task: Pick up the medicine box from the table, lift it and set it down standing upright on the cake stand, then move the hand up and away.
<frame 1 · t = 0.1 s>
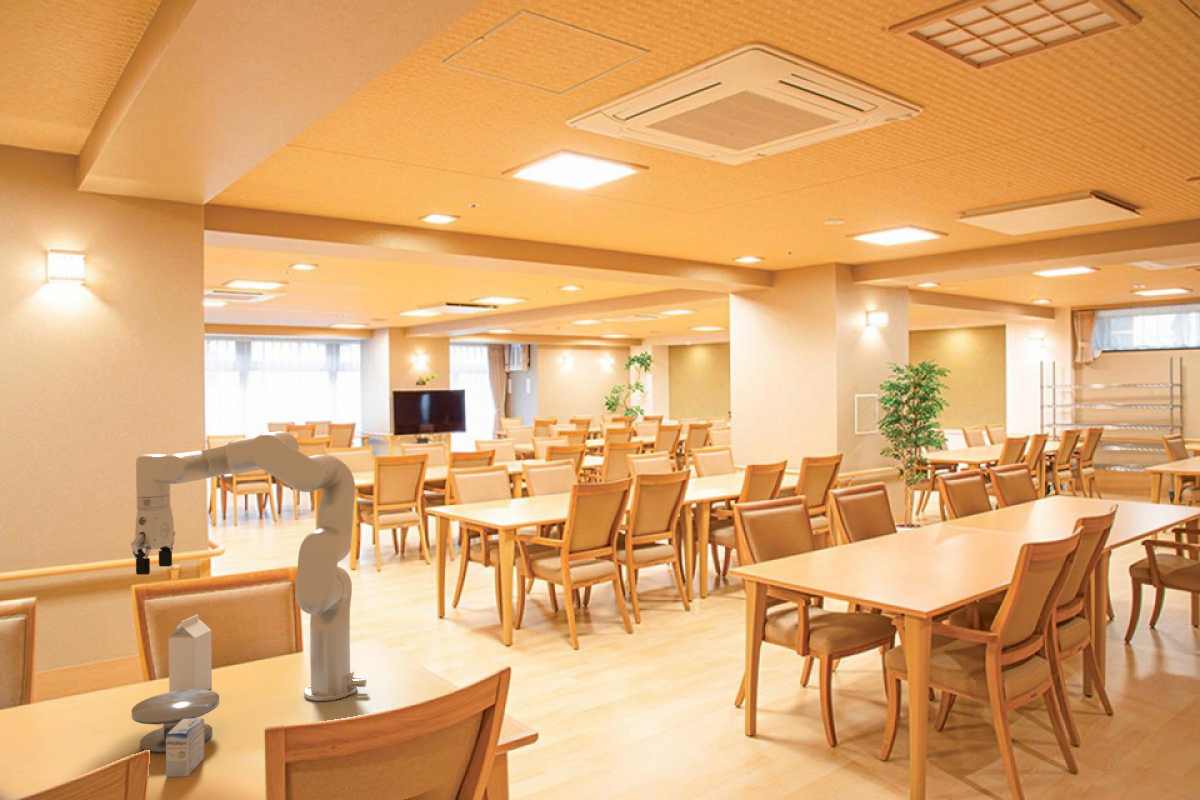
hand: (154, 570, 207), 31 cm above the table, tool pointing down, fingers open, 9 cm apart
cake stand: (176, 739, 178), on the table
medicine box: (185, 769, 164), on the table
milk carton: (190, 693, 207), on the table
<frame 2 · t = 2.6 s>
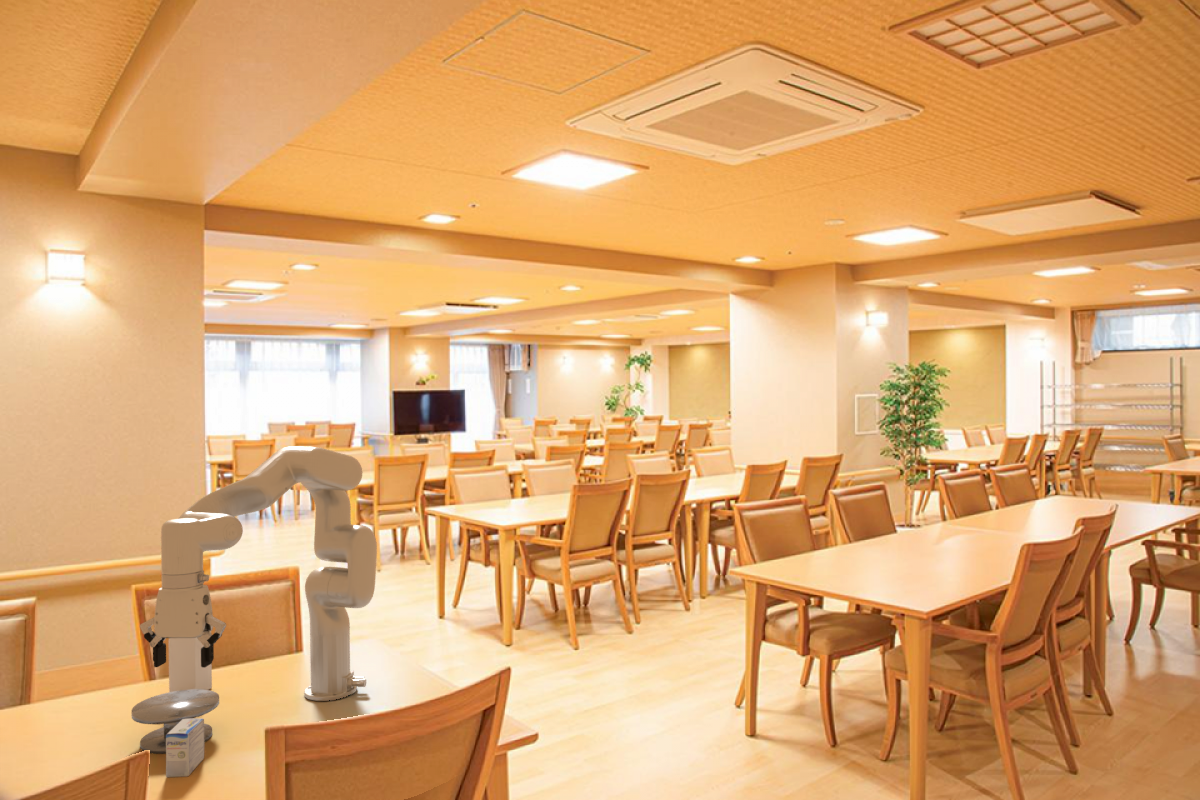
hand: (183, 665, 164), 21 cm above the table, tool pointing down, fingers open, 9 cm apart
nothing on the table moved.
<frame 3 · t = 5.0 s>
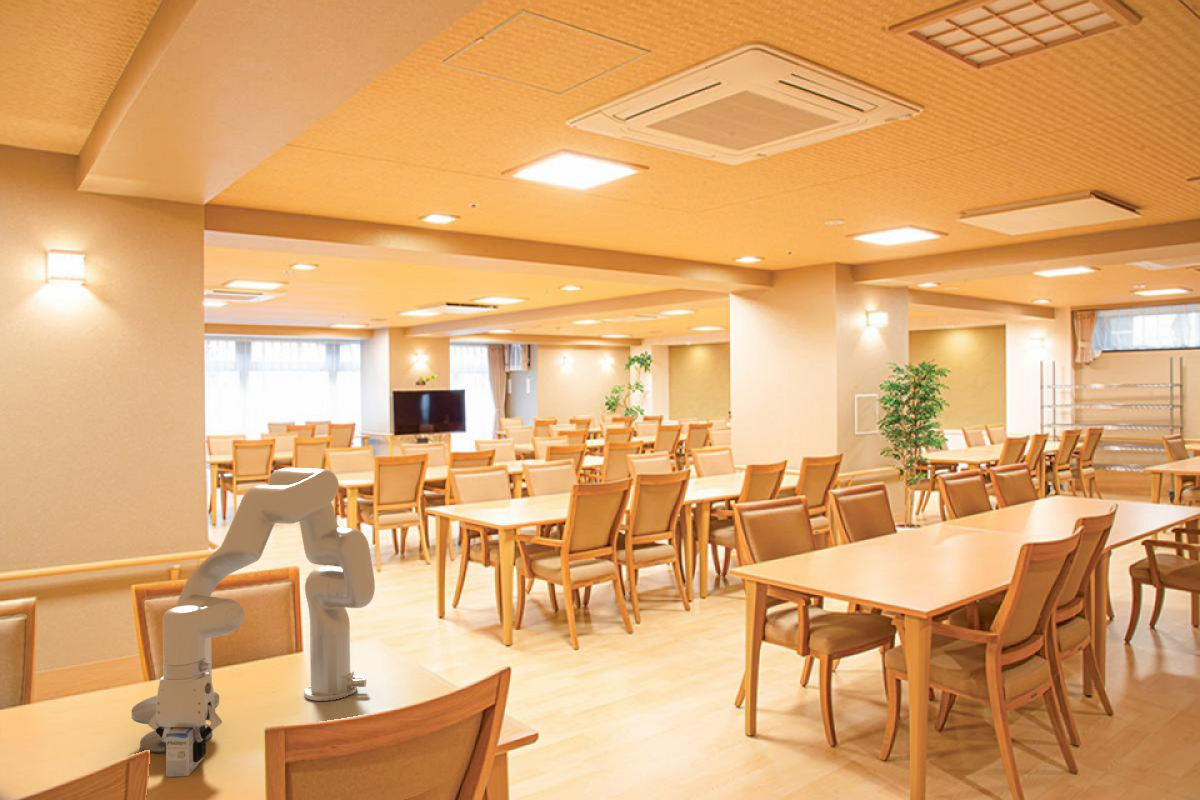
hand: (185, 758, 164), 2 cm above the table, tool pointing down, fingers closed on medicine box, 4 cm apart
medicine box: (185, 769, 164), on the table, touching gripper
everything else where it was.
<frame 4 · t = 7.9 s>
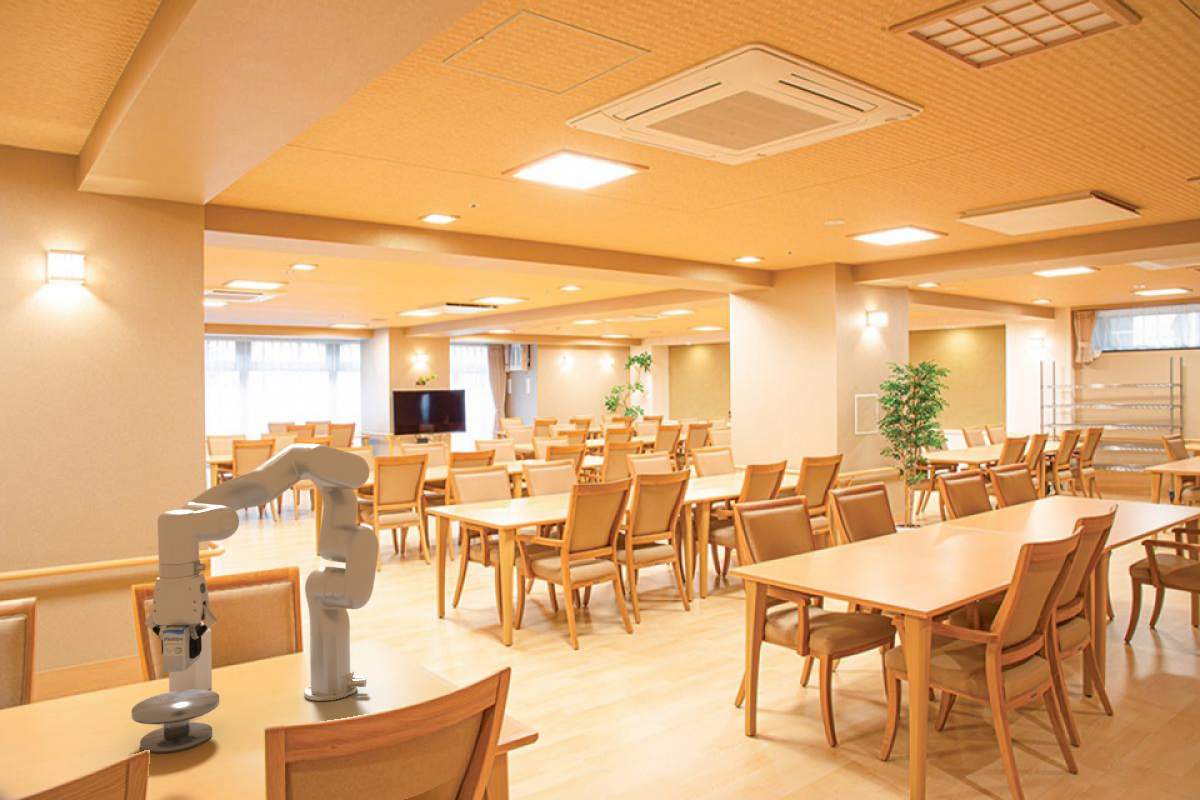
hand: (181, 655, 170), 21 cm above the table, tool pointing down, fingers closed on medicine box, 4 cm apart
medicine box: (182, 666, 170), point 19 cm above the table, touching gripper
everything else where it was.
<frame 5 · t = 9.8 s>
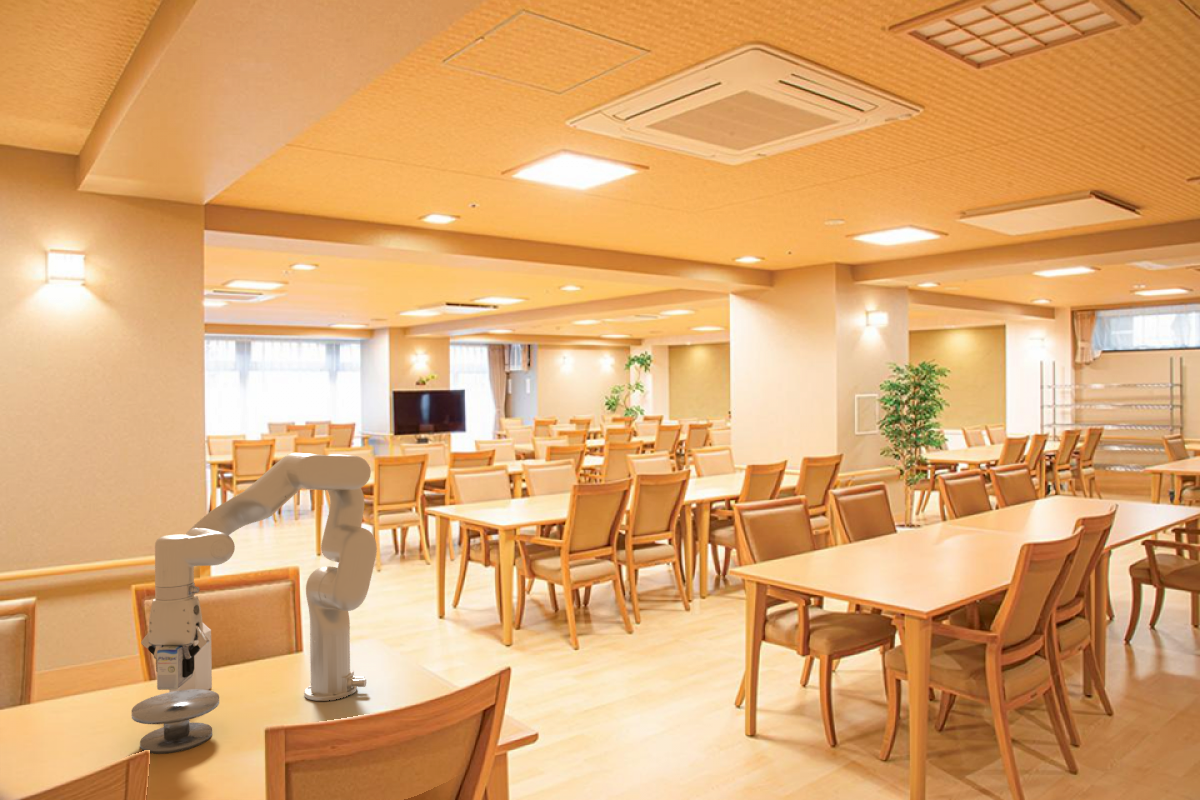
hand: (175, 674, 178), 14 cm above the table, tool pointing down, fingers closed on medicine box, 4 cm apart
medicine box: (175, 684, 178), point 12 cm above the table, touching gripper
everything else where it was.
when the fingers open (11 cm above the table, at t = 11.1 s): medicine box drops 1 cm, resting on cake stand.
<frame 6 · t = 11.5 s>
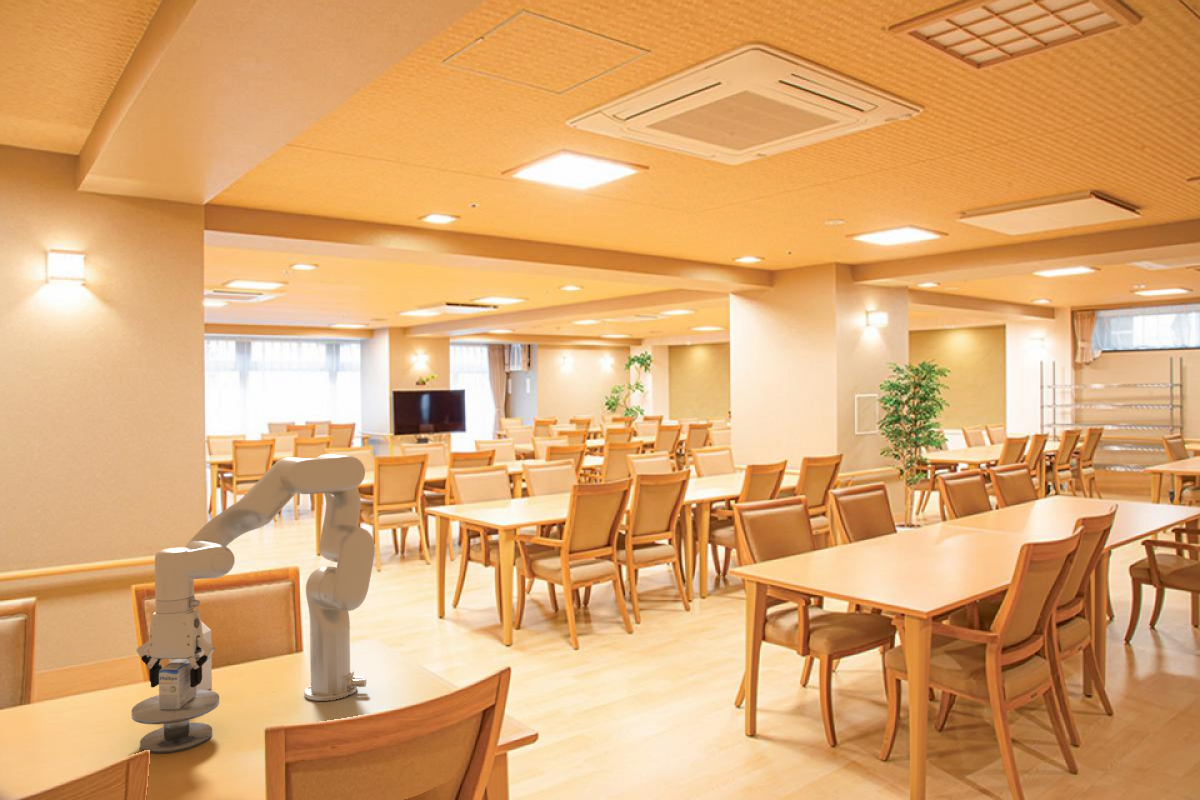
hand: (176, 684, 178), 12 cm above the table, tool pointing down, fingers open, 8 cm apart
medicine box: (178, 704, 178), point 8 cm above the table, touching cake stand
everything else where it was.
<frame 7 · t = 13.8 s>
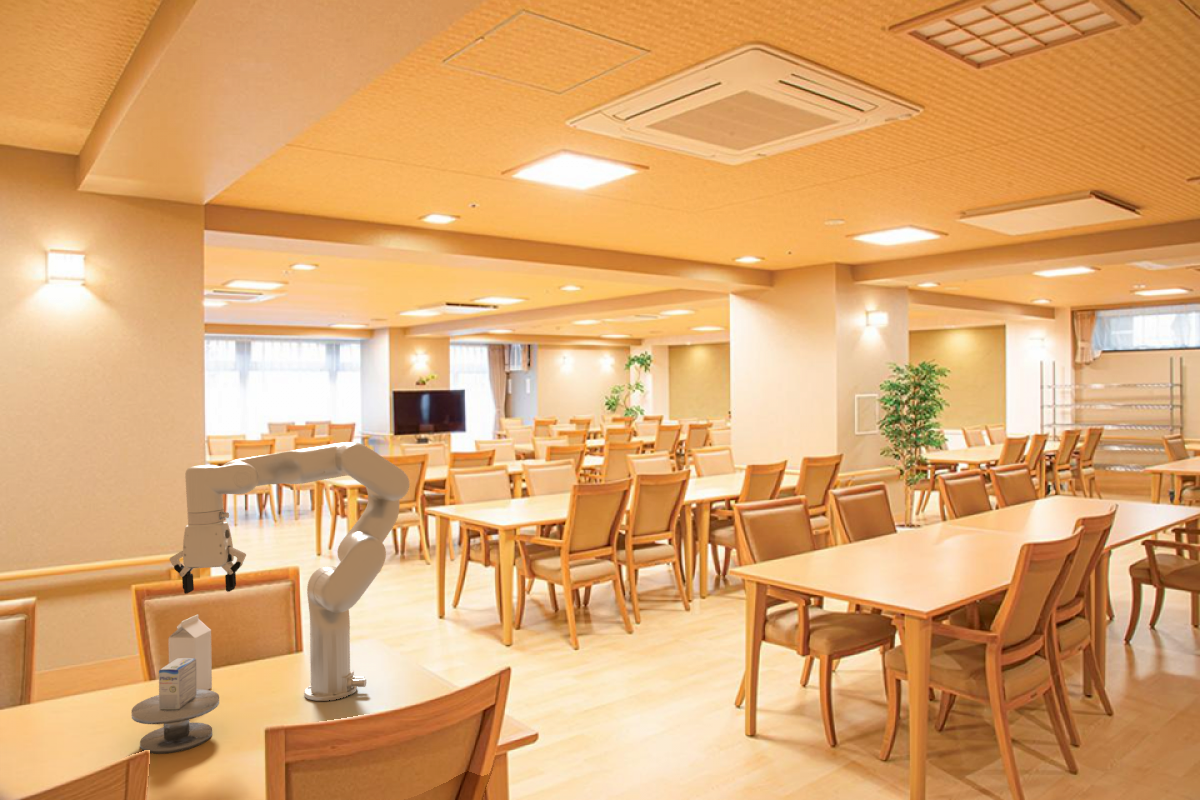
hand: (209, 591, 190), 30 cm above the table, tool pointing down, fingers open, 9 cm apart
nothing on the table moved.
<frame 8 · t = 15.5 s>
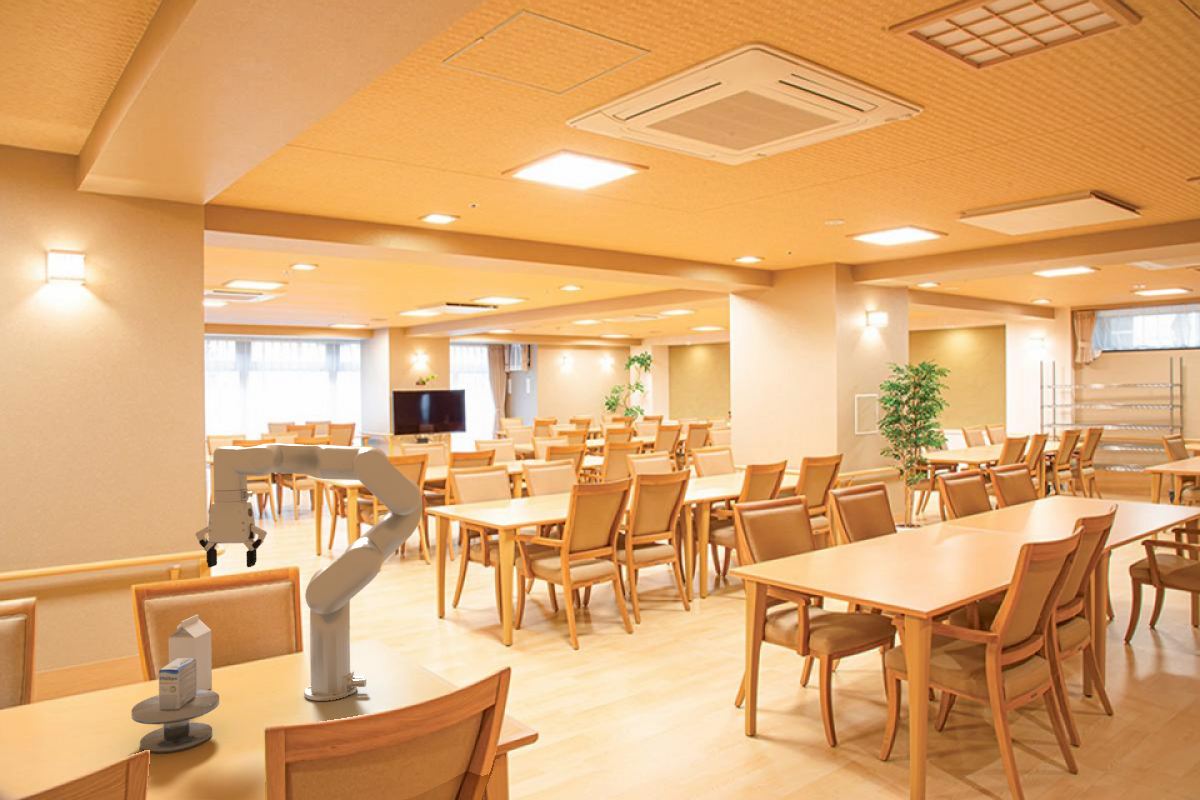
hand: (231, 566, 200), 33 cm above the table, tool pointing down, fingers open, 9 cm apart
nothing on the table moved.
at the end: medicine box inside the target area on the cake stand (0.4 cm from its centre), point 7.8 cm above the cake stand's base; medicine box tilted 0°; the gripper is holding nothing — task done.
